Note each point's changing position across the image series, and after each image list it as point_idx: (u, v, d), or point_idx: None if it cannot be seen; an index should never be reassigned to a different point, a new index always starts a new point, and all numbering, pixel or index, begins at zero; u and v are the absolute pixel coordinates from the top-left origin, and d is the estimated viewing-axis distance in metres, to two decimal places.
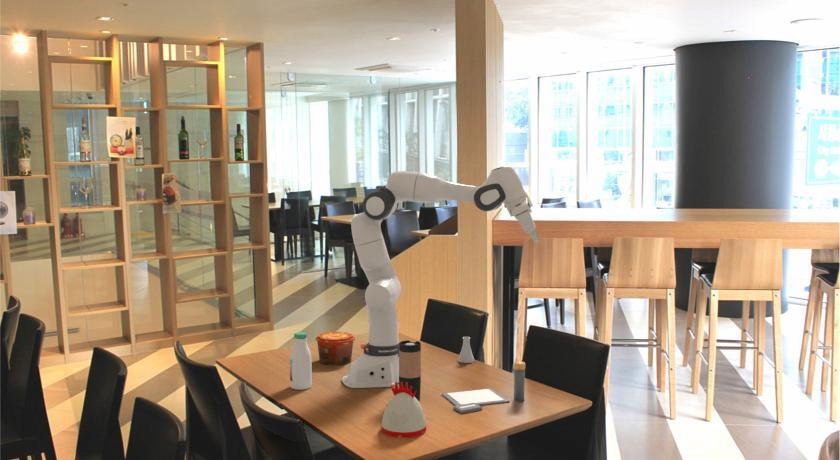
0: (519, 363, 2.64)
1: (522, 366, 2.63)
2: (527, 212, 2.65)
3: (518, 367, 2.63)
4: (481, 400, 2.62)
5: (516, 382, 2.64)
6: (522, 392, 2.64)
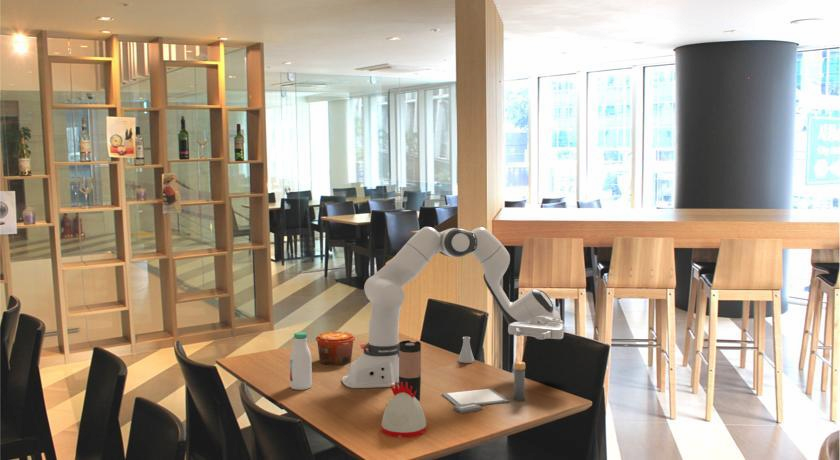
0: (519, 363, 2.64)
1: (522, 366, 2.63)
2: None
3: (518, 367, 2.63)
4: (481, 400, 2.62)
5: (516, 382, 2.64)
6: (522, 392, 2.64)
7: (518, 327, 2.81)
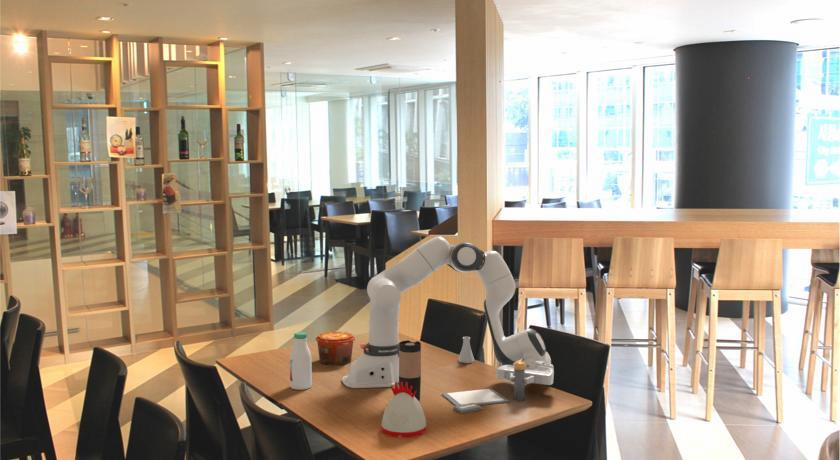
0: (519, 363, 2.64)
1: (522, 366, 2.63)
2: None
3: (518, 367, 2.63)
4: (481, 400, 2.62)
5: (516, 382, 2.64)
6: (522, 392, 2.64)
7: (512, 372, 2.70)
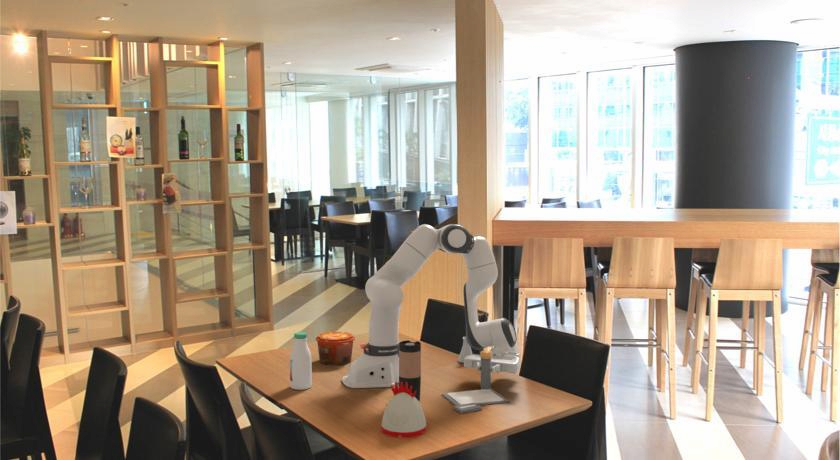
0: (485, 352, 2.69)
1: (488, 355, 2.68)
2: None
3: (484, 356, 2.68)
4: (481, 400, 2.62)
5: (482, 371, 2.69)
6: (488, 380, 2.69)
7: (479, 361, 2.75)
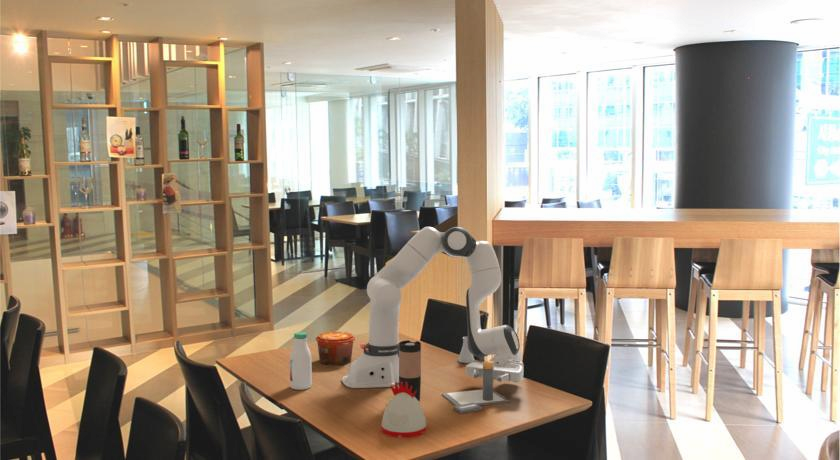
0: (488, 362, 2.62)
1: (490, 365, 2.61)
2: None
3: (486, 366, 2.61)
4: (481, 400, 2.62)
5: (485, 381, 2.62)
6: (491, 391, 2.62)
7: (476, 368, 2.69)
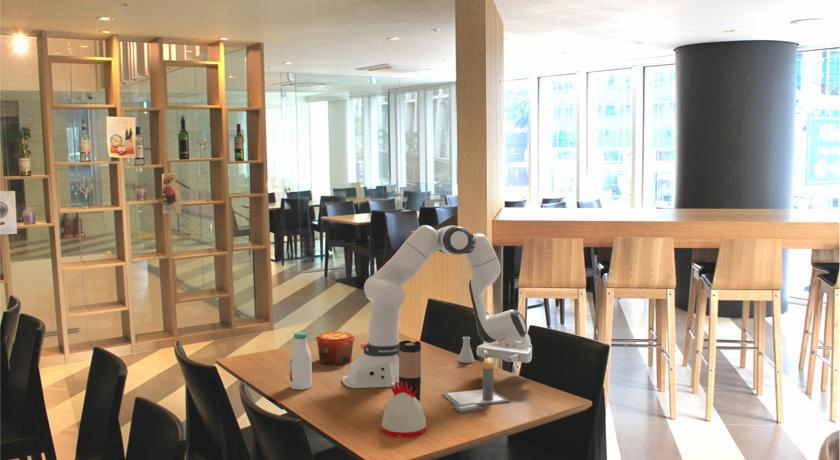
0: (488, 362, 2.62)
1: (491, 365, 2.61)
2: None
3: (486, 366, 2.61)
4: (481, 400, 2.62)
5: (485, 381, 2.62)
6: (491, 391, 2.62)
7: (486, 349, 2.82)
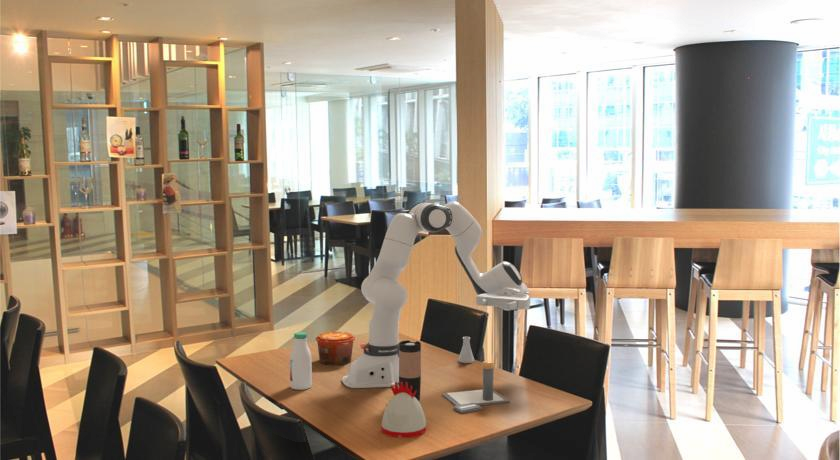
0: (488, 362, 2.62)
1: (491, 365, 2.61)
2: None
3: (486, 366, 2.61)
4: (481, 400, 2.62)
5: (485, 381, 2.62)
6: (491, 391, 2.62)
7: (485, 298, 2.87)
